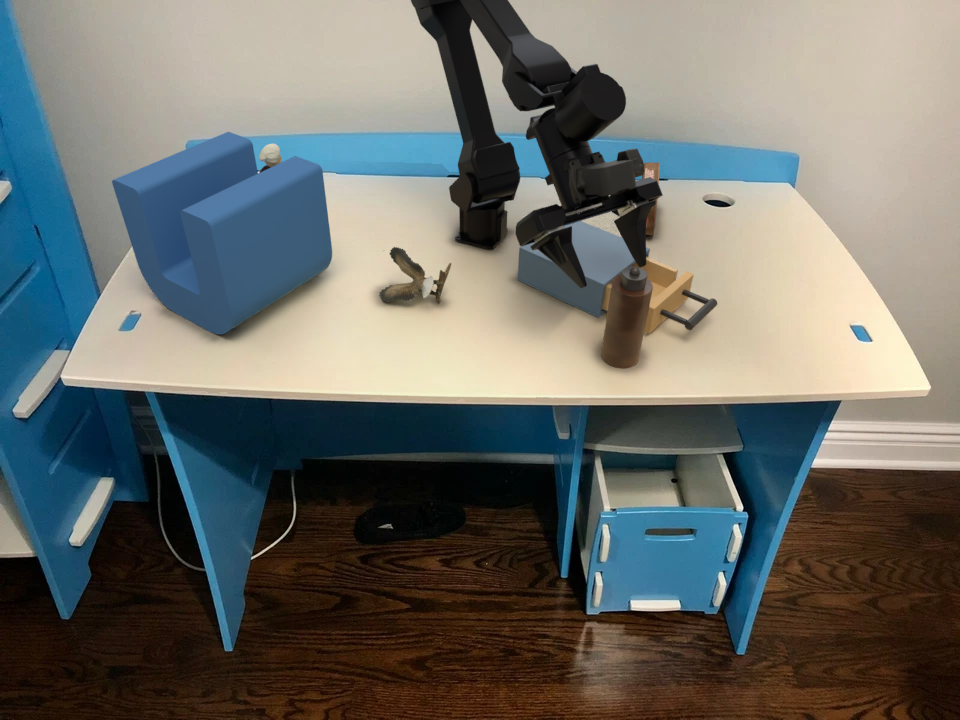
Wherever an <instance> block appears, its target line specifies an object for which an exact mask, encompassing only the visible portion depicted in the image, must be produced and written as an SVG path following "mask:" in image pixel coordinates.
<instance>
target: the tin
mask: <svg viewBox="0 0 960 720" xmlns="http://www.w3.org/2000/svg"><path fill="white" fill-rule="evenodd" d="M643 163H644V170H645V171H644V174H643V175H642V176H641V179H645V178H648V177H651V178H653V179H654V180H656V181H657V182H658V184H659V185H660V170H661V169H660V168H661V162H660V161H659V162H649V161H648V162H647V161H646V162H643ZM658 199H659V198H658ZM658 199H656V200H654V201H656V206H654V207H652V208H651V210H650V212H649V215H648V217H647V222H646V236H652V237H653V236H655V228H656V221H657V220H656V219H657V218H656V217H657V210H658Z"/></svg>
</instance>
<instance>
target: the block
mask: <svg viewBox="0 0 960 720" xmlns="http://www.w3.org/2000/svg"><path fill="white" fill-rule="evenodd" d="M258 171H259V170H258V167H257V161H256V153H255V150H254V144H253V142H252V141H251V139H249V138H247V137H246V136H245V137H244V136H242V135H239V134H235V133H233V132H231V131H227V132H224V133H222V134H219V135H217V136H215V137H212V138H210V139H207V140H204V141H202V142H200V143H197V144H195V145H193V146H191V147H188V148H185V149H183V150H181V151H179V152H175V153H173V154H172V155H169V156H167V157H164V158H162V159H160V160H157V161H154V162H152V163H149V164H147V165H145V166H143V167H140V168H138V169H136V170H133V171H131V172H128V173H126V174H124V175H121V176H118V177H117V178H113V179H112V180H111V184H112V187H113V190H114V193H115V197H116V200H117V203H118V206H119V209H120V212H121V216H122V219H123V222H124V225H125V228H126V232H127V235H128V238H129V240H130V245H131V248H132V250H133V253H134V256H135V260H136V263H137V266H138V269H139V270H140V273H141V275H142V277H143V279H144V281H145V283H146V285H147V286H148V287H149V289H150V290H151V292H152V293H153V294H154V296H155V297H156V298H157V299H158V300H159V301H160V302H161V303H162V304H163V305H164V306H165V307H166V308H167V309H169V310H170V311H171V312H173V313H174V314H176V315H178V316H180V317H182V318H184V319H185V320H187V321H189V322H191V323H193V324H194V325H196V326H198V327H200V328H202V329H204V330H205V331H208V332H210V333H211V334H215V335H224V334H227V333H228V332H229V331H232V330H233V329H234V328H236V327H238V326H239V325H241V324H243V323H244V322H245V321H247V320H249V319H250V318H253V316H255V315H256V314H258V313H260V312H261V311H263V310H264V309H266V308H268V307H269V306H271V305H272V304H274V303H275V302H277V301H278V300H280V299H282V298H283V297H285V296H286V295H288V294H290V293H291V292H293V291H294V290H296V289H298V288H299V287H301V286H302V285H304V284H306V283H307V282H308V281H310V280H311V279H314V278H315V277H317V276H318V275H319V274H321V273H323V272H324V271H326V270H327V269H328V268H329V266H330V265H331V264H332V259H333V246H332V245H333V244H332V236H331V229H330V221H329V212H328V204H327V195H326V189H325V179H324V171H323V168H322V166H321V165H320V164H318V163H316V162H313V161H311V160H308V159H305V158H303V157H301V156H297V155H294V156H292V157H290V158H288V159H286V160H284V161H281V163H279V164H277V165H275V166H273V167H271V168H269V169H267V170H265V171H263V172H261V173H259V172H258Z"/></svg>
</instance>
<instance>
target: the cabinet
mask: <svg viewBox="0 0 960 720" xmlns="http://www.w3.org/2000/svg"><path fill="white" fill-rule="evenodd" d="M571 226H572V244H573V247H574V249H575V252H576V254H577V257H578V259H579V262H580V264H581V267H582V270H583V272H584V275H585V279H586V283H587V286H586V287H584V288H580V287H579V286H578V285H577V284H576V283H575V282H574V281H573V280H572V279H571V278H570V277H569V276H568V275H567V274H565V273H564V272H563V271H562V270H561V269H560V268H559V267H558V266H557V265H556V264H555V263H554V262H553V261H551V260H550V259H549V258H548V257H546V256H545V255H544V254H543V253H542V252H540V251H539V250H537V249H536V250H532V249H531V247H530V246H532V245H533V244H535V242H534V243H531V244H528V245H525V246H519V248H518V265H517V281H519V282H520V283H523V284H525V285H527V286H529V287H530V288H531V287H532V288H533V289H536V290H537V291H539V292H542V293H544V294H546V295H548V296H550V297H553V298H555V299H557V300H559V301H561V302H563V303H565V304H567V305H569V306H572V307H574V308H576V309H578V310H581V311H583V312H585V313H587V314H589V315H591V316H593V317H595V318H597V319H600V318H601V317H602V316H604V315H605V314H607V312H608V311H606V310H604V309H602V305H603V298H604V292H605V286H606V285H607V284H609V283H610V282H611V281H613V279H614V278H615V277H616V276H618V275H620V274H621V273H622V270H623V269H624V268H626V267H630V266H632V265H633V264H634V263H636V262H635V260H634V259H633V257H632V255H631V253H630V251H629V249H628V247H627V245H626V244H625V242H624V240H623V238H622V236H620V235H616V234H614V233H612V232H609V231H607V230H605V229H602V228H599V227H598V226H594V225H592V224H589V223H587V222H584V221H583V220H582V221H578V222H575V223H572V224H569V225H565V226H564V228H567V227H571ZM650 251H651V248H649V247H647V246H646V257H648V258H650V257H649V256H650Z"/></svg>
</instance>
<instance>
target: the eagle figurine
mask: <svg viewBox="0 0 960 720" xmlns="http://www.w3.org/2000/svg"><path fill="white" fill-rule="evenodd" d="M389 251H390V252H389V256H390V258H391V259H392V262H393V263H394V264H396V265H397V266H398V268H399V269H400V271H401V272H402V273H404V274H405V275H406V276H408V277H409V278H411V279H412V281H411V282H407V283H396V284H390V285H388V286H386V287H384V288H383V289H381V291H379V297H380V299H381V300H382V301H383V302H386V303H387V302H389V303H390V302H395V301H403V302H408V301H413V300H414V299H415V298H416V296H417V295H418V294H420V293H421V294H422V298H423V299H426V298H428V296H434V298H435V300H436V302H437V303H438V304H441V302H442V301H441V296H442V293H443V290H444V287H445V284H446V281H447V279H448V276H449V273H450V271H451V267H452V262H449V263H448V265H447V266H446V268H445V270H444V271H443V270H442V269H440V270H439V275H438V279H434V278H433V276H432V275H429V276H428V277H425V276H426V271H425V270H424V268H423V267H422V265H420V264H419V263H418V262H415V261H413V260H412V258H411V257H410V256H409V254H408V253H407V252H406V250H405V249H403V248H401V247H397V246H393V247H391V249H390V250H389ZM435 285H436V289H435V291H434V290H433V288H434V286H435Z"/></svg>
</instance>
